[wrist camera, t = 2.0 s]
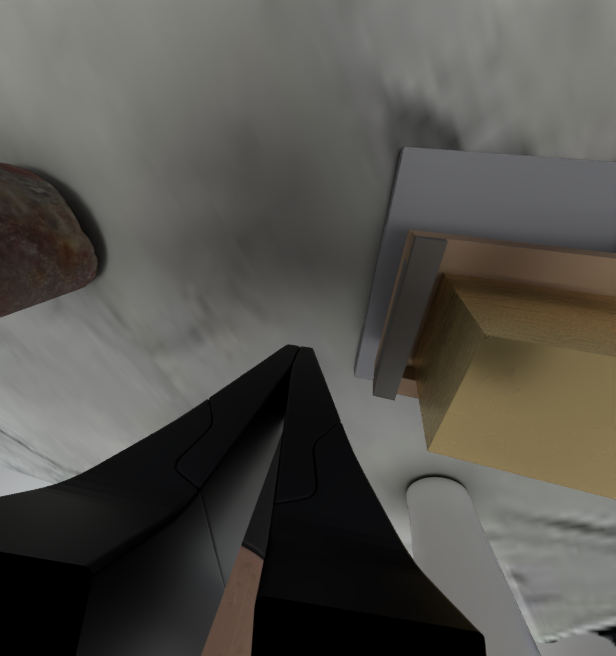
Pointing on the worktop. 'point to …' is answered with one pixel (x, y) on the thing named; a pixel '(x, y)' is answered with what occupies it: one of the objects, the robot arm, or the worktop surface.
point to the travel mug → (244, 579)
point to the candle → (38, 243)
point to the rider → (521, 380)
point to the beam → (478, 261)
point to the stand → (488, 212)
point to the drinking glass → (465, 564)
